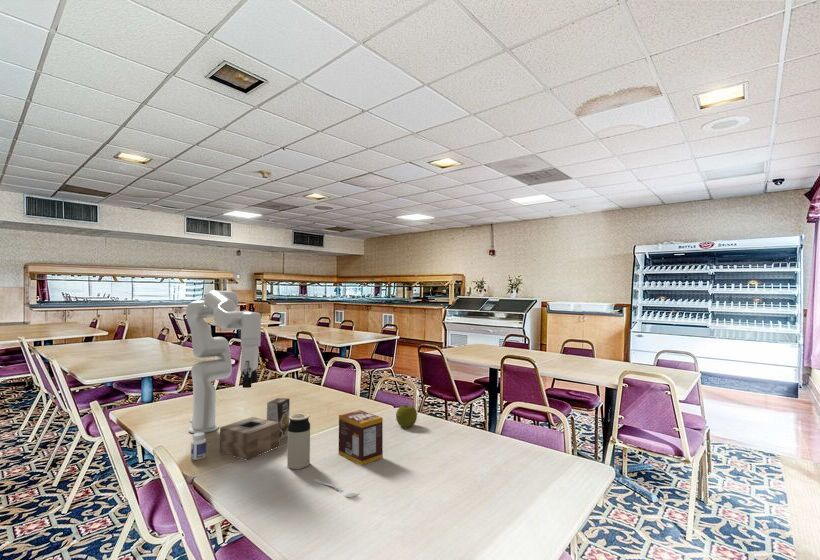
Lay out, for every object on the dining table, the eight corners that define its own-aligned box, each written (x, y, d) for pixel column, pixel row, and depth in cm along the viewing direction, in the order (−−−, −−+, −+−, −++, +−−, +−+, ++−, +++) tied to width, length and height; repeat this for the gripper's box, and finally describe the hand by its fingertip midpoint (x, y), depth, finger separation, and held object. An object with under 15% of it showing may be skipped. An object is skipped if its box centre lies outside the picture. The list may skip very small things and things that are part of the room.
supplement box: (358, 447, 169) (359, 409, 170) (383, 458, 158) (383, 417, 159) (337, 454, 162) (338, 414, 162) (361, 465, 151) (362, 423, 151)
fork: (312, 476, 143) (312, 471, 143) (361, 498, 127) (361, 492, 127) (305, 479, 140) (305, 474, 140) (353, 502, 125) (353, 496, 125)
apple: (392, 428, 193) (392, 405, 193) (400, 422, 202) (401, 400, 202) (412, 431, 189) (412, 407, 190) (419, 425, 198) (419, 402, 199)
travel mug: (289, 471, 146) (290, 420, 146) (285, 463, 153) (286, 414, 153) (312, 467, 149) (312, 417, 150) (306, 459, 156) (307, 411, 157)
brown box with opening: (219, 452, 163) (220, 427, 163) (252, 440, 177) (252, 416, 177) (247, 460, 155) (248, 433, 155) (279, 446, 169) (279, 422, 170)
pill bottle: (208, 454, 161) (209, 431, 161) (202, 460, 155) (202, 436, 156) (194, 454, 160) (195, 431, 161) (188, 460, 155) (188, 436, 155)
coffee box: (279, 441, 175) (279, 403, 176) (265, 440, 177) (266, 402, 177) (289, 434, 184) (290, 398, 185) (276, 433, 186) (277, 397, 186)
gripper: (246, 340, 175) (245, 380, 174) (235, 345, 158) (234, 390, 157) (264, 340, 176) (264, 380, 175) (255, 345, 159) (254, 389, 158)
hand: (249, 384), depth 166 cm, fingers open, 9 cm apart
